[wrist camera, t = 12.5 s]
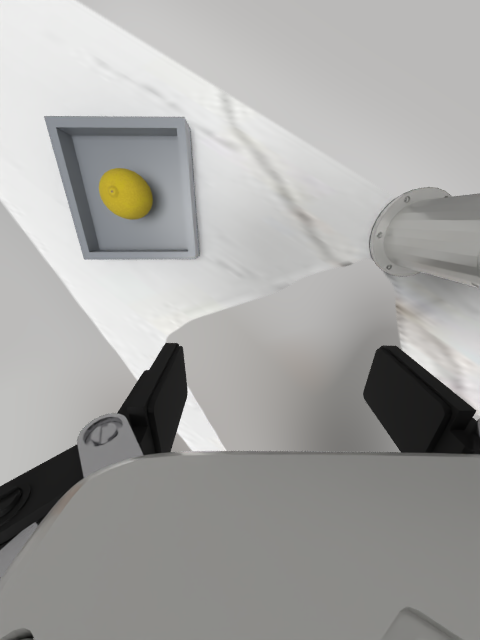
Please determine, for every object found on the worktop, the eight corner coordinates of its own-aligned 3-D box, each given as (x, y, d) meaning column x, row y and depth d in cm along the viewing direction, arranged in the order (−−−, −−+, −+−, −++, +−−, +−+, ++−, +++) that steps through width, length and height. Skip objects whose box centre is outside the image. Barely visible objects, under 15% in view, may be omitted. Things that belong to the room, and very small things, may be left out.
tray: (190, 128, 29) (184, 116, 26) (199, 255, 35) (195, 258, 32) (65, 127, 29) (43, 116, 25) (97, 255, 35) (84, 259, 32)
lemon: (133, 225, 33) (104, 226, 25) (112, 184, 31) (73, 173, 23) (167, 211, 32) (147, 207, 25) (147, 168, 30) (119, 150, 23)
